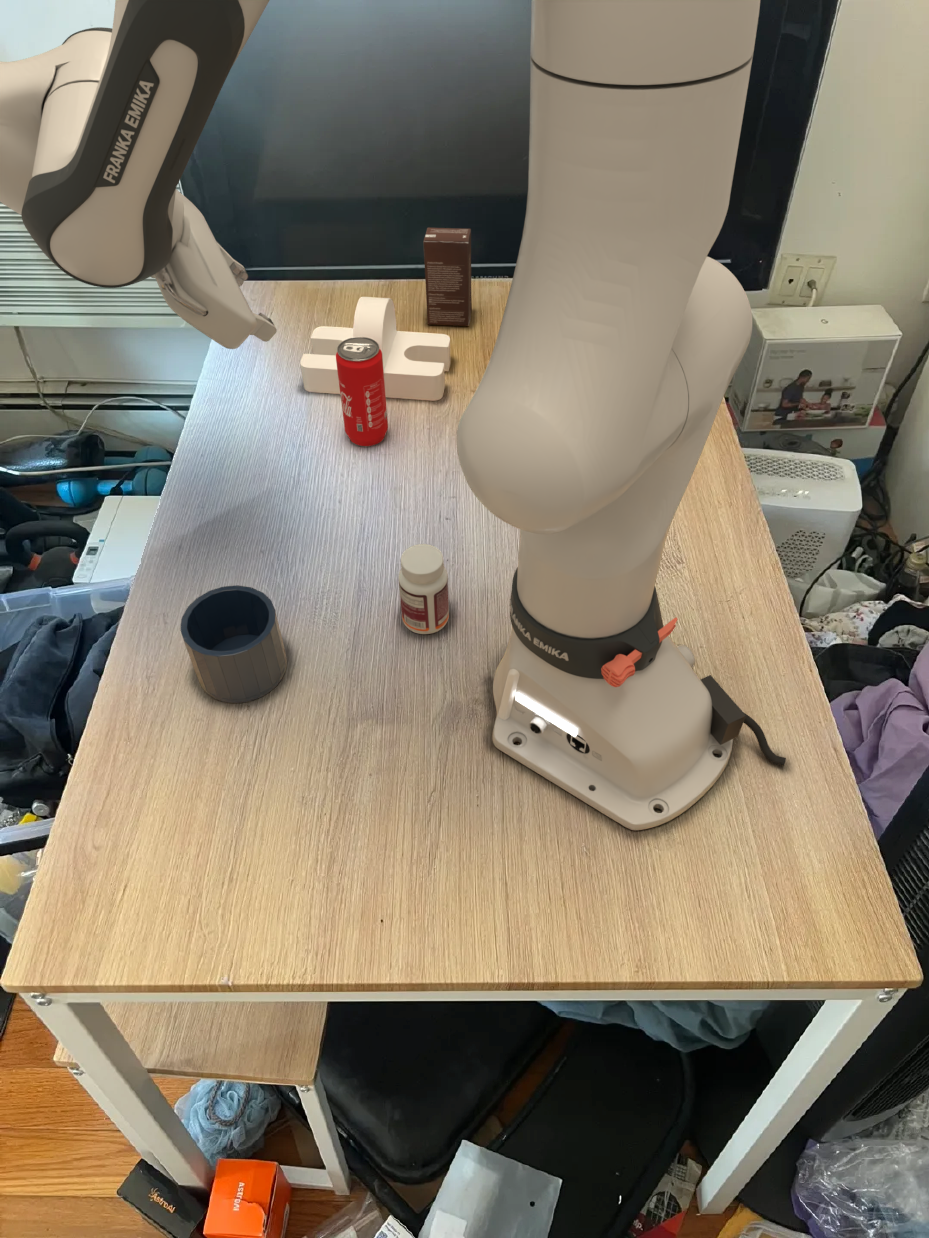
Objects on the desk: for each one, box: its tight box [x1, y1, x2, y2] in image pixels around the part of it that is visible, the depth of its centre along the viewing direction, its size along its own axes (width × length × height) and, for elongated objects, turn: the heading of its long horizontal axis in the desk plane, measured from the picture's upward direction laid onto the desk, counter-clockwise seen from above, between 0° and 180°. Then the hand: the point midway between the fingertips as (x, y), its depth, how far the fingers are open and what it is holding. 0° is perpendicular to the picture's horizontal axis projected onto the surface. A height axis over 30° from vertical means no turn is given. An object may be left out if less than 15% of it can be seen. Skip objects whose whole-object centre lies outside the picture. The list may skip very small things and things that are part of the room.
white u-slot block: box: [299, 296, 451, 402], centre depth 115 cm, size 10×18×10 cm, turn 83°
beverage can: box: [336, 337, 389, 448], centre depth 106 cm, size 5×5×12 cm
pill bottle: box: [397, 543, 450, 635], centre depth 88 cm, size 5×5×8 cm
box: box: [422, 227, 473, 327], centre depth 123 cm, size 6×4×12 cm
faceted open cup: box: [179, 584, 288, 704], centre depth 84 cm, size 8×8×7 cm
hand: (256, 304), depth 90 cm, fingers open, 8 cm apart
